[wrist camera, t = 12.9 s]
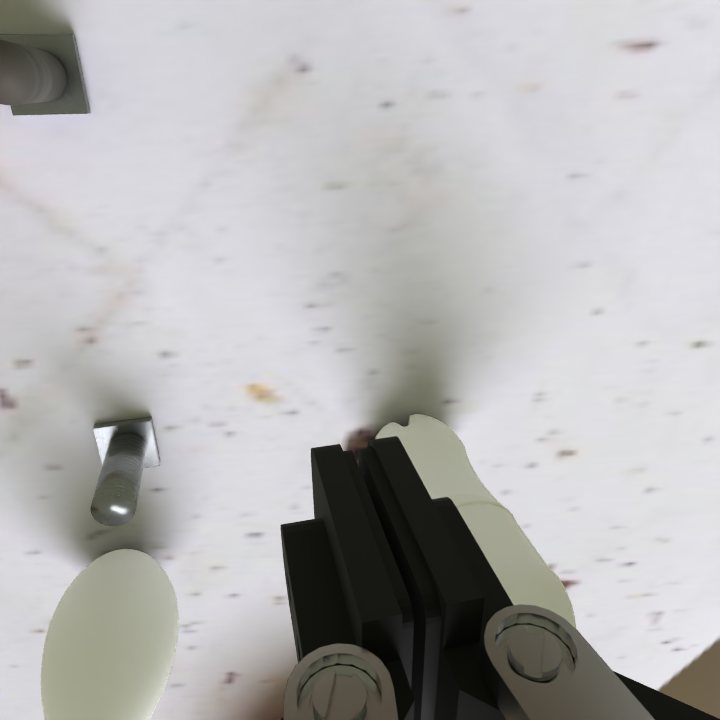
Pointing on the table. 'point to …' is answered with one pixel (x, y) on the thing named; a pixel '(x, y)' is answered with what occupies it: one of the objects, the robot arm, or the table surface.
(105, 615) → the sauce bottle
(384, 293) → the table surface
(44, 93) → the gate
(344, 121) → the table surface
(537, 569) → the water bottle
